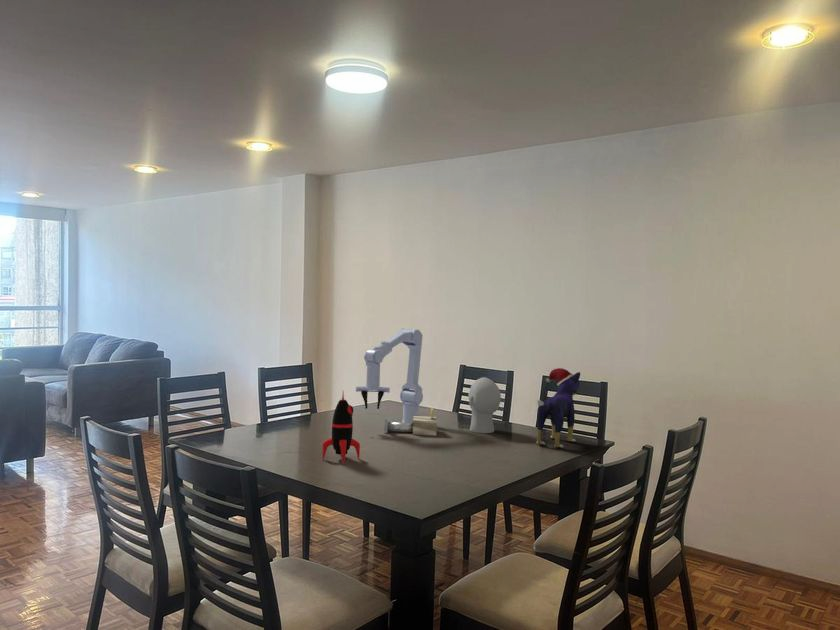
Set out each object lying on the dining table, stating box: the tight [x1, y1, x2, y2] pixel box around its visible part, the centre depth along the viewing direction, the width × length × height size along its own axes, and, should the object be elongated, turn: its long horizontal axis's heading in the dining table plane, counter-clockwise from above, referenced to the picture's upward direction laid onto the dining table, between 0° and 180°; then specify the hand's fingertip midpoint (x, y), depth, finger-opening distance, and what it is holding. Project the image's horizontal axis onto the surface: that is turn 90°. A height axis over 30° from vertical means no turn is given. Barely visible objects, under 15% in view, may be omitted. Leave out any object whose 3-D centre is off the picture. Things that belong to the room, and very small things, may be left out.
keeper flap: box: [430, 407, 434, 420], centre depth 271 cm, size 6×1×4 cm, turn 1°
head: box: [467, 376, 502, 434], centre depth 279 cm, size 14×18×25 cm
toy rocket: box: [322, 391, 361, 464], centre depth 223 cm, size 10×10×25 cm
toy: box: [536, 367, 581, 449], centre depth 259 cm, size 16×40×30 cm, turn 146°
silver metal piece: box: [383, 415, 413, 434], centre depth 271 cm, size 7×14×6 cm, turn 91°
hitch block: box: [412, 415, 438, 436], centre depth 272 cm, size 10×10×6 cm
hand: (372, 408), depth 271 cm, fingers open, 4 cm apart
